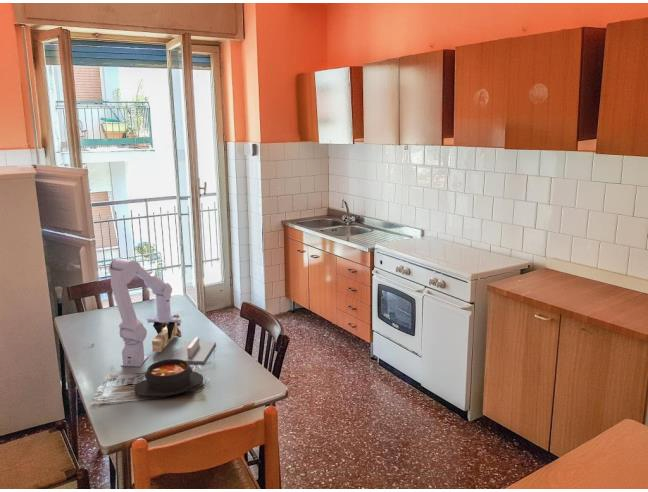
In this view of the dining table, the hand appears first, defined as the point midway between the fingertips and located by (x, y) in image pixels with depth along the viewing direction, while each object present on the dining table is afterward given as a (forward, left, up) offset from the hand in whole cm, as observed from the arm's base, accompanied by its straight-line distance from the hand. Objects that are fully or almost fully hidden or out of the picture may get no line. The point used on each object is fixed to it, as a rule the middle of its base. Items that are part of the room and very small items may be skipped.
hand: (165, 338), depth 240 cm
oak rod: (0, 0, -2) cm, 2 cm away
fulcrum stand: (-8, -15, -3) cm, 17 cm away
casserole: (-39, -15, -4) cm, 42 cm away
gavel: (+19, +3, -4) cm, 19 cm away
